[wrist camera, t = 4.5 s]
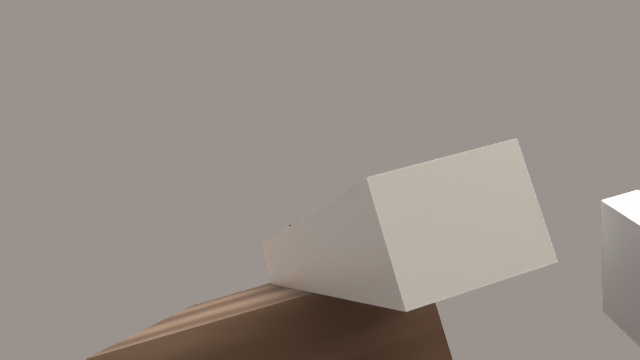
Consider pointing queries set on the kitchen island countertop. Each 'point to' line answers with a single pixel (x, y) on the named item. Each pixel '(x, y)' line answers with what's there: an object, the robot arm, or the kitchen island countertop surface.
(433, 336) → the two tier stand
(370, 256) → the domino bar
